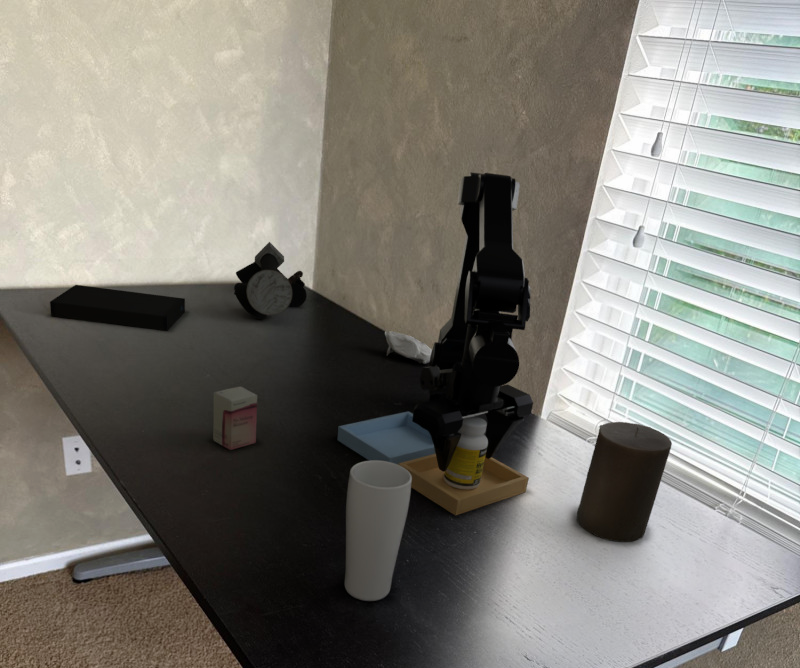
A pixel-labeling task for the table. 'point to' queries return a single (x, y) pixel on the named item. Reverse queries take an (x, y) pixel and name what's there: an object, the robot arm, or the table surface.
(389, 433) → the tray
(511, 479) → the tray
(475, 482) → the supplement bottle
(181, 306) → the external hard drive
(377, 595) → the drinking glass
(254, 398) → the small box
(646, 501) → the pillar candle
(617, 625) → the table surface
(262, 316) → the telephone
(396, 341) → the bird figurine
